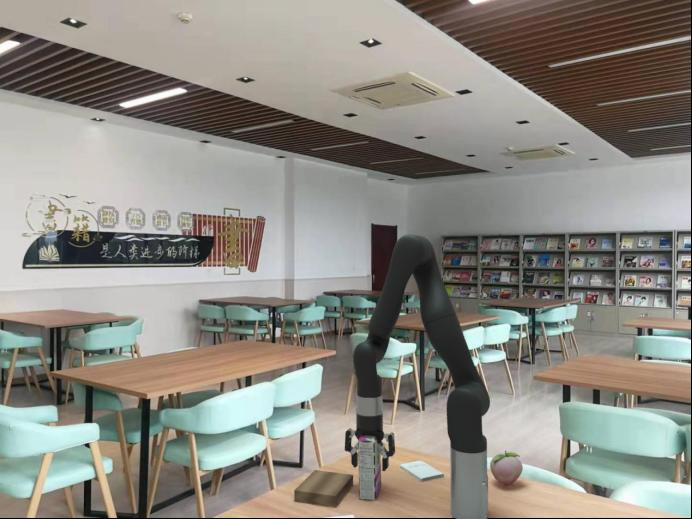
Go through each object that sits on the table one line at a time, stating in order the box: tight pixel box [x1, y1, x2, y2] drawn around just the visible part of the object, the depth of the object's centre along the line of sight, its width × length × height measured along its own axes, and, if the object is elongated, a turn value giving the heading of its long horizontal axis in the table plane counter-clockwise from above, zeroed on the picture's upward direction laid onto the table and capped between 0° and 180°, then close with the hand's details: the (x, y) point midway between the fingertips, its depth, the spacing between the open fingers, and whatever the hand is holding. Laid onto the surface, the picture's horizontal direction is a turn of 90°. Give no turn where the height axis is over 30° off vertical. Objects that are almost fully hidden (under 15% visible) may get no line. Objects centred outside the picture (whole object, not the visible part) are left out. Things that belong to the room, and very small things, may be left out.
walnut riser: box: [293, 469, 354, 508], centre depth 152 cm, size 12×15×3 cm
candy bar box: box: [357, 435, 382, 502], centre depth 153 cm, size 11×5×16 cm, turn 168°
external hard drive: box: [399, 460, 445, 483], centre depth 167 cm, size 2×8×12 cm
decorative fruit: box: [489, 450, 524, 486], centre depth 157 cm, size 9×8×10 cm
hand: (369, 468), depth 153 cm, fingers open, 8 cm apart
